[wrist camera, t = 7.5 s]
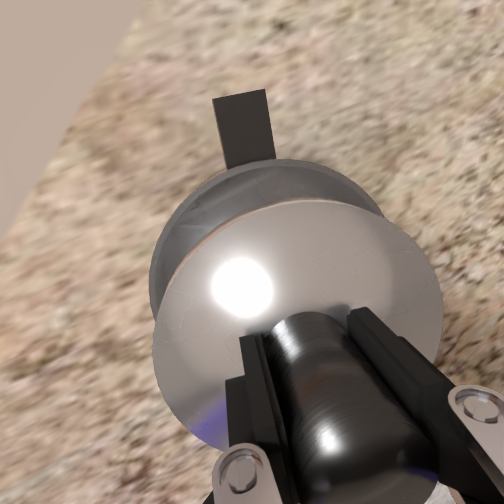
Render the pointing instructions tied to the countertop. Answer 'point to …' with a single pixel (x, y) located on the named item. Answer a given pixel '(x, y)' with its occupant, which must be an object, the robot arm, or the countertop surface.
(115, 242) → the countertop surface
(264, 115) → the pot
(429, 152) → the countertop surface
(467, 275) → the countertop surface
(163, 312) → the lid
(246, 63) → the countertop surface
